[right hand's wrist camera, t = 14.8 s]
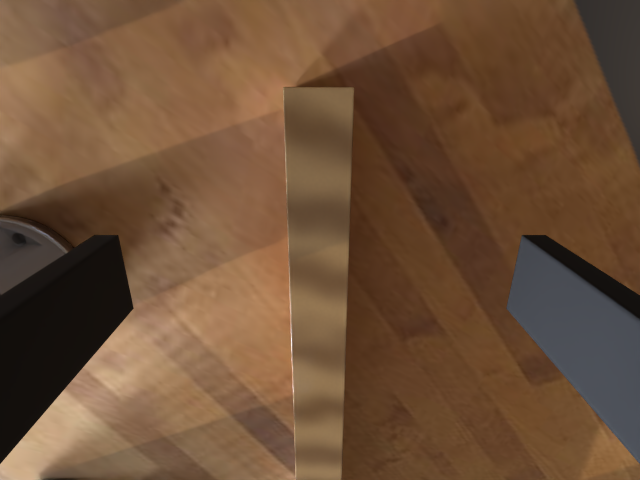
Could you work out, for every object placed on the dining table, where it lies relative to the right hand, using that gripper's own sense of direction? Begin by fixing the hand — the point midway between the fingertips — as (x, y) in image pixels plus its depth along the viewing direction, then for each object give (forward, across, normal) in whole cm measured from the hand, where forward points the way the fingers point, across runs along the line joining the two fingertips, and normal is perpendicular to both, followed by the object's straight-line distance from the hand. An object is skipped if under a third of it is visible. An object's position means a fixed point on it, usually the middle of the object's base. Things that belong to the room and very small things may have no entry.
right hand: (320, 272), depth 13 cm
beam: (+27, 0, -30) cm, 40 cm away
